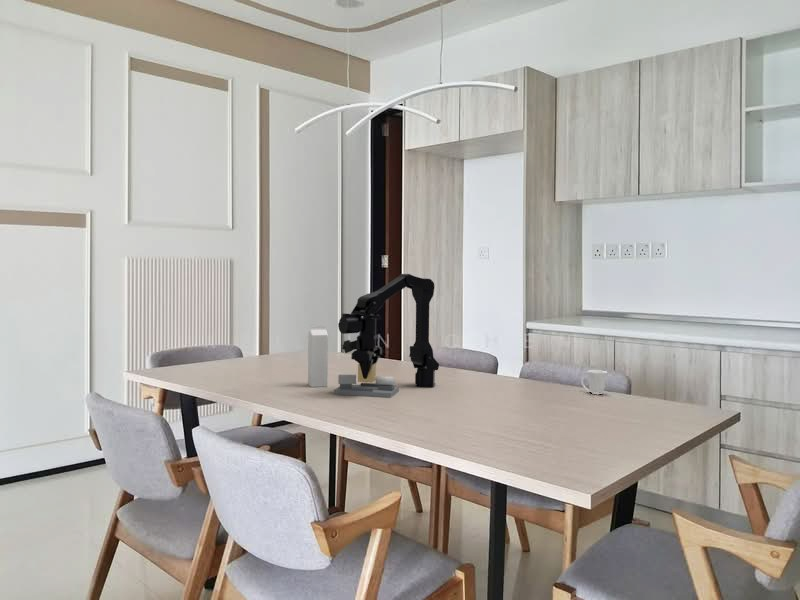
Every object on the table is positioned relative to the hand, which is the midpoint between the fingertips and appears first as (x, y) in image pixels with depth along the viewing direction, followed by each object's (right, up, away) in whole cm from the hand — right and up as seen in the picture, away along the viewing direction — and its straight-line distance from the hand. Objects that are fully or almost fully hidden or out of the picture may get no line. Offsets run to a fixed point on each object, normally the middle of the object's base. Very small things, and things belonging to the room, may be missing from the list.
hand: (367, 377), depth 222 cm
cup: (+80, -7, +6) cm, 81 cm away
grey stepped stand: (0, -5, 0) cm, 5 cm away
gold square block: (0, -1, 0) cm, 1 cm away
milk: (-19, -5, +13) cm, 23 cm away
